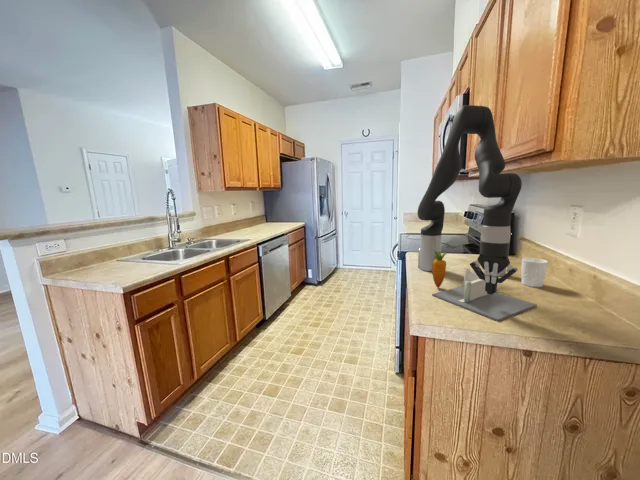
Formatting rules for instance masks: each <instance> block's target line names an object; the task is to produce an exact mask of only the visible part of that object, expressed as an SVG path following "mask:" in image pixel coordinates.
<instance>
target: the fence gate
mask: <svg viewBox="0 0 640 480" xmlns="http://www.w3.org/2000/svg"><path fill="white" fill-rule="evenodd" d="M485 284H486V282H485V281H484V280H482V279H477V280H474V281H471V282H470V281H465V289H464V301H465V302H470V301H471V300H473V299H476V298H478V297H481V296H483V295H485V294H487V292H486V291H485Z"/></svg>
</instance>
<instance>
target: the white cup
mask: <svg viewBox="0 0 640 480" xmlns="http://www.w3.org/2000/svg"><path fill="white" fill-rule="evenodd" d="M548 263H549V262H548V260H545V259H543V258H542V259H541V258H538V257H522V258H521V267H520V268H521V269H520V270H521V271H520V277H521V279H520V282H521V284H522V285H523V286H527V287H530V288H531V287H532V288H542V287H544V282H545V281H544V280H545V279H546V275H547V267H548Z"/></svg>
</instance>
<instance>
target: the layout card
mask: <svg viewBox="0 0 640 480" xmlns="http://www.w3.org/2000/svg"><path fill="white" fill-rule="evenodd" d="M464 289H465V287H464V286H463V285H460V286H456V287H454V288H448V289H446V290H443V291H438V292H434V293H432V294H431V295H432V297H435V298H437V299H439V300H442V301H445V302H448V303H450V304H452V305H455V306H458V307H460V308H463V309H466V310H468V311H470V312H472V313H475V314H478V315H480V316H483V317H486V318H488V319H491V320H493V321H495V322H500V321H502V320H503V321H504V320H505V319H507V318H510V317H512V316H515V315H518V314H520V313H523V312H526V311H528V310H531V309H533V308H536V307H537V306H538V304H536V303H533V302H530V301H526V300H522V299H521V298H516V297H513V296H510V295H506V294H504V293H500V292H497V291H496V292H495V293H494V294H493V295H491V294H485V295H483V296H481V297H478V298H476V299H473V300H471V301H470V302H465V301H464Z"/></svg>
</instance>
